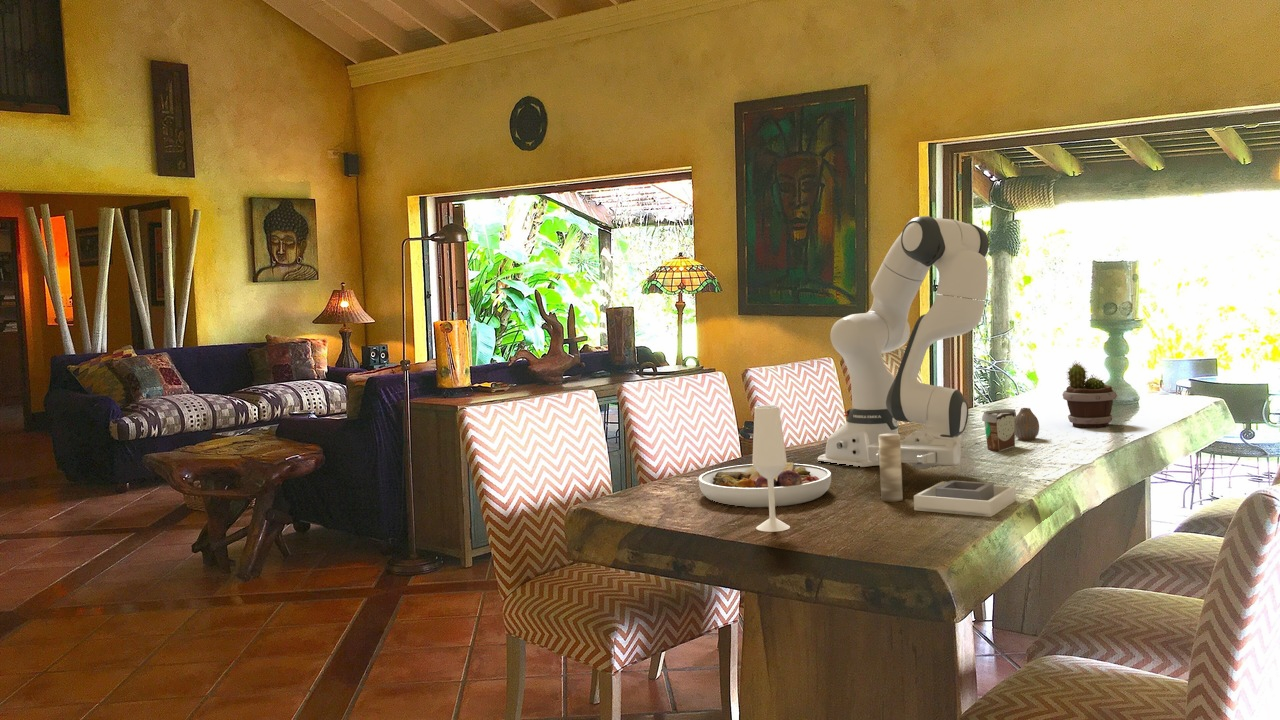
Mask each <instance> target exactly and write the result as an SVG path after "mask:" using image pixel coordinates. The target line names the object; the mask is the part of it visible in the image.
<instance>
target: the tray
mask: <svg viewBox="0 0 1280 720" xmlns="http://www.w3.org/2000/svg"><path fill="white" fill-rule="evenodd" d="M1016 494H1017V493H1016V486H1013V485H1012V486H1011V485H998V484H994V482H982V481H981V482H980V481H979V482H978V481H966V480H953V479H952V480H949V481H943V480H942V481H940V482H938V483H935V484H934V485H932V486H930V487H928V488H926V489H924V490H922V491H920V492H918V493H916V494H914V495H913V507H914V508H913V510H914V511H921V512H933V513H942V514H944V513H945V514H955V515H965V516H978V517H987V518H988V517H989V518H991V517H993V516H995V515H997V514H998V513H999V512H1000V511H1003V510H1004V509H1006V508H1007V507H1008V506H1010V505H1012V504H1013V503H1015V502H1016V501H1017V495H1016Z"/></svg>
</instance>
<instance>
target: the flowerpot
mask: <svg viewBox="0 0 1280 720" xmlns="http://www.w3.org/2000/svg"><path fill="white" fill-rule="evenodd" d="M1080 363H1081V361H1079V362H1078V363H1077V361H1075V362H1072V365H1070V366H1069V367H1067V371H1066V376H1067V377H1066V380H1067V381H1068V382H1067V383H1068V384H1067V385H1068V386H1067V387H1066V390H1064V391H1063V392H1062V395H1061V396H1062V398H1063V400H1065V401H1066V403H1067V407H1068V411H1069V414H1068V415H1067V418H1068V421H1069V422H1070V423H1072V426H1073V427H1077V428H1088V429H1095V428H1103V427H1108V426H1109V424H1110V423H1111V422H1112V421H1113V415H1112V414H1111V413H1112V411H1113V410H1112V408H1113V403H1114V400H1116V399H1117V396H1118V394H1117V392H1116V390H1115V389H1113V388H1112V385H1106V384H1105V383H1104V380H1105V379H1101V377H1096V375H1094V373H1093V374H1092V375H1090V377H1089V376H1088V373H1089V371H1087V370H1088V369H1087V368H1086V367H1085V366H1083V365H1082V364H1080ZM1068 370H1069V371H1068Z"/></svg>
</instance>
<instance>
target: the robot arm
mask: <svg viewBox="0 0 1280 720" xmlns="http://www.w3.org/2000/svg"><path fill="white" fill-rule="evenodd" d="M988 236H989V235H988V234H987V233H986V231H985V230H984V229H983V228H981V227H980V226H977V225H975V224H973V223H966V222H964V221H960V220H957V219H952V218H941V217H932V216H926V215H925V216H915V217H914V218H911V219H910V220H908V222H907V223H906V224H905V225H904V228H903V229H902V231H901V232H900V234H899V235H898V237H896V239H895V240H894V241H893V243H892V245H891V246H890V248H889V250H888V252H887V253H886V255H885V257H884V259H883V260H882V263H881V264H880V266H879V269H878V271H877V272H876V275H875V277H874V278H873V281H872V282H871V285H870V291H871V294H872V296H873V299H872V300H873V301H872V305H871V307H870V309H868V311H867V312H863V313H852V314H849V315H846V316H844V317H842V318H840V319H838V320H837V321H835V322H834V324H832V327H831V329H830V330H831V331H830V337H829V338H830V343H831V344H832V347H833V349H834V350H835V351H836V352H837V353H838V354H839V355H840V356H841V357H842V359H843V361H844V363H845V366H846V368H847V372H848V376H849V380H850V386H851V387H850V389H851V390H850V391H851V401H852V402H851V404H852V407H851V408H849V409H848V410H846V411H844V412H843V417H846V422H845V423H844V424H843V425H841V426H840V427H839V428H837V430H835V431H834V432H833V433H831V434H830V435H829V436H828V438H827V441H826V445H825V452H824V453H823V454H821V455H819V456H818V457H817V460H818V461H824V462H831V463H837V464H836V465H839V464H846V465H845V466H849V465H853V466H852V467H858V466H860V468H865V467H872V466H873V467H874V466H880V459H879V437H878V435H880V434H899V431H898V429H899V422H905V423H915V424H919V425H923V426H924V427H923V428H920V429H918V430H916V431H913V432H911V433H909V434H908V435H906V437H905V438H904V440H903V442H902V441H900V447H901V464H909V465H910V466H911V467H913V468H915V469H918V470H927V469H930V468H932V469H933V468H936V467H937V468H938V467H953V466H959V465H961V458H962V457H961V456H962V455H961V453H962V452H961V451H962V450H961V447H962V443H963V432H964V431H965V430H966V427H967V424H968V421H969V420H968V419H969V405H968V401H967V400H966V398H965V396H964V395H963V393H962V392H961V391H960V390H959V389H955V388H951V387H945V386H939V385H934V384H928V383H922V382H919V381H918V376H919V373H920V369H921V367H922V364H923V362H924V358H925V356H926V353H927V352H928V349H929V348H930V346H932V345H933V344H934V343H937V342H938V341H941V340H943V339H949V338H954V337H955V338H956V337H957V336H959V337H960V336H962V335H966V334H967V333H969V332H971V331H973V329H975V328H976V327H977V326H978V325H979V324H980V322H981V320H982V317H983V313H984V309H985V305H986V299H987V290H988V280H989V279H988V278H989V277H988V275H989V273H988V270H989V269H988V267H989V266H988V262H987V258H986V257H987V255H988V252H989V248H990V247H989V245H990V242H989V237H988ZM932 266H934V267H935V268H936V269H937V271H938V276H939V277H938V284H937V287H936V292H935V293H936V294H935V298H934V300H933V303H932V305H931V307H930V309H929V310H928V311H927V313H925V314H923V315H920V316H919V317H918V318H917V320H916V322H915V323H914V326H913V329H912V331H911V327H910V323H909V321H908V318H909V314H910V310H911V306H912V303H913V301H914V300H915V298H916V296H917V294H918V292H919V289H920V288H921V286H922V284H923V282H924V280H925V278H926V277H927V274H928V272H929V270H930V269H931V267H932ZM904 345H906V346H905V350H904V352H903V355H902V358H901V361H900V363H899V365H898V366H899V367H898V370H897V372H896V375H895V376H894V375H893V374H892V372H890V371H889V369H888V368H887V367H886V365H885V362H884V360H883V359H884V358H883V355H882V354H887V353H891V352H894V351H896V350H898V349H901V347H903V346H904ZM818 461H817V462H818Z"/></svg>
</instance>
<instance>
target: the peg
mask: <svg viewBox="0 0 1280 720" xmlns="http://www.w3.org/2000/svg"><path fill="white" fill-rule="evenodd" d="M878 437H879V459H880V465H879V478H880V479H879V481H880V499H881V501H883V502H891V503H892V502H900V501H903V498H904V497H903V495H904V494H903V474H902V473H903V471H902V463H901V447H900V442H901V434H899V433H898V434H880V435H878Z"/></svg>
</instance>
